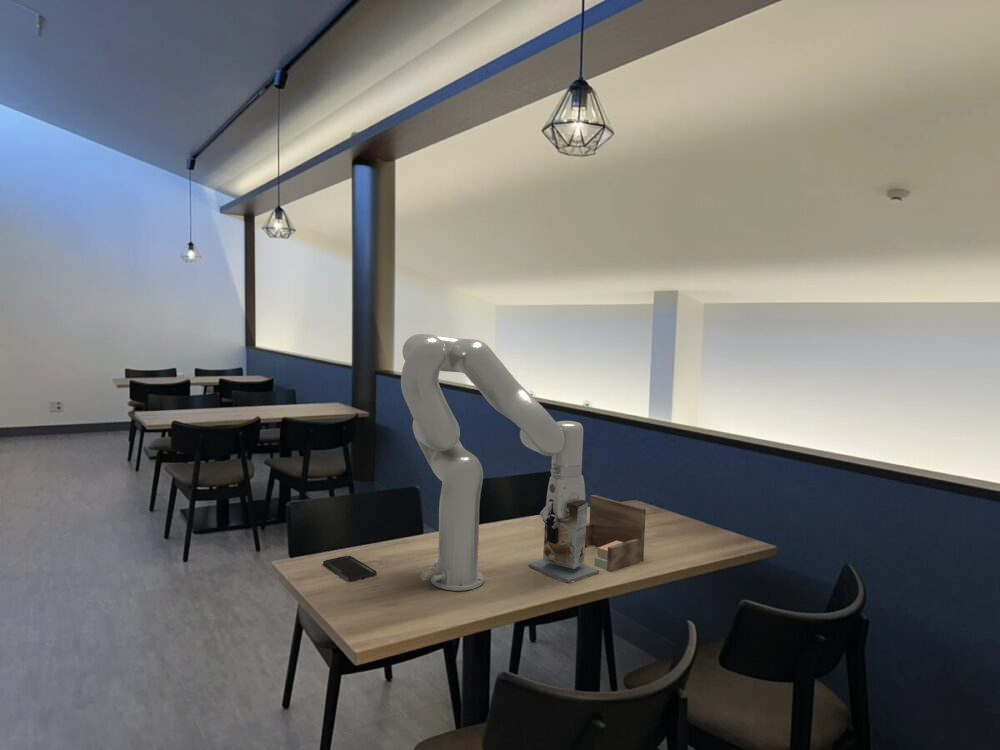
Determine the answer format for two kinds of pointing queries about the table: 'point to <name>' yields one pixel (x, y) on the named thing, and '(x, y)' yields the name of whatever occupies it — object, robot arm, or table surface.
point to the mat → (563, 571)
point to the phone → (349, 568)
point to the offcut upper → (606, 550)
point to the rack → (616, 530)
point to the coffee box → (568, 537)
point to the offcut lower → (600, 562)
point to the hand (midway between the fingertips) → (563, 539)
